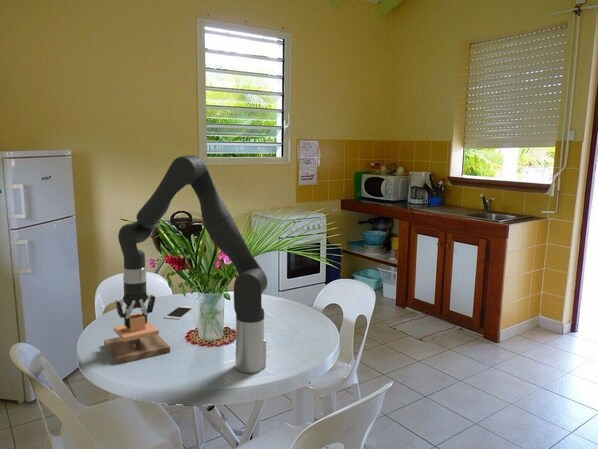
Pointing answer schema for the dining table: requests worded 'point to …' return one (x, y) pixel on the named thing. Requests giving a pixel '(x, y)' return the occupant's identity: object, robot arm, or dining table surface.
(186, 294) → the dining table surface
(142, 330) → the flange plate
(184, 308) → the smartphone
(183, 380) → the dining table surface
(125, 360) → the post base
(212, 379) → the dining table surface
